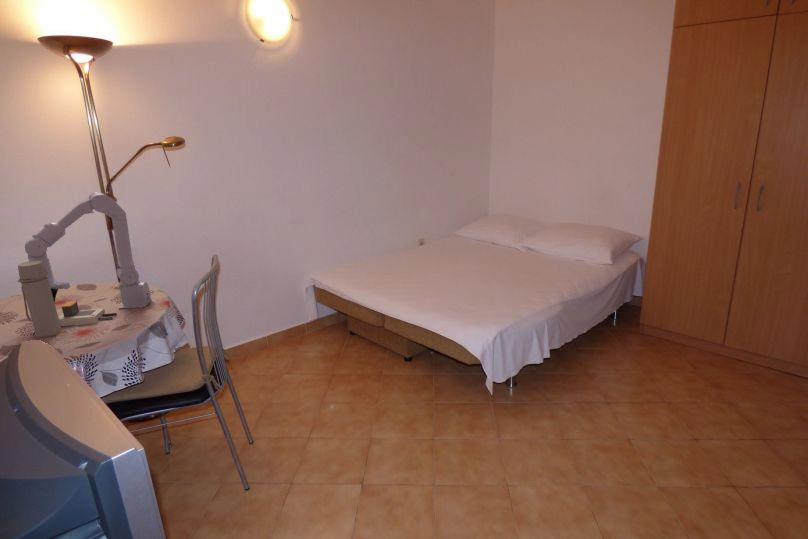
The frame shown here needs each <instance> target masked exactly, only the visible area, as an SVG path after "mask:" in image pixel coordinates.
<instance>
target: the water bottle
mask: <svg viewBox="0 0 808 539" xmlns="http://www.w3.org/2000/svg"><path fill="white" fill-rule="evenodd" d="M17 271H18V277H19V279H18V280H17V282H18V283H20V284H21V287H22V289H21V292H22V291H23V292H22V296H23V303H24V309H25V315H26V318H27V319H28V322H31V323H32V326H33V330H34V333H35V335H36V337H38V338H44V339H45V338H49V337H53V336H56V335H58V334H59V333H60V332H61V331H62V326H60V322H59V319H58V317H59V314H58V312H57V308H56V302H55V303H54V299H53V296H52V292H51V288H50V284H49V280H48V277H46V276H47V272H46V270H45V267H44V265H43V262H42V261H29V260H28V261H24V262H22V263H19V264H17Z"/></svg>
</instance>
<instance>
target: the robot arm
mask: <svg viewBox="0 0 808 539" xmlns="http://www.w3.org/2000/svg"><path fill="white" fill-rule="evenodd" d="M94 211H96V212H98V213H101V214H104V215H106V216H108V217H109V218H110V219H111V221H112V227H113V234H114V236H113V237H114V241H115V242H114V243H115V249H116V255H117V269H116V271H115V272H116V276H117V277H118V278H119V280H120V281H119V282H118V289H119V291H120V293H119V294H120V297H121V302H122V305H120V306H119V308H118V309H119V310H124V309H135V308H146V305H147V306H148V305H149V304H150V303H151V302H152V301H153V299H152V297H151V293H150V287H149V284H148V282H146V281H141V280H140V278H139V277H140V275H139V272H138V271H137V270H136V266H135V263H134V260H133V252H132V248H131V239H130V233H129V227H128V219H127V213H126V211H125V210H124V209H123V208H122V207H121V205H120V204H118V203H117V202H116V200H114V199H113V198H112V197H110V196H108V195H107V194H105V193H103V192H99V191H96V192H92V193H91V194H90V195H89V196H88V197H85V198H84V199H82V200H81V201H80V202H79V203H77V204H76V205H75V206H74V207H73V208H71V209H70V210H69V211H68V212H67V213H66V214H65V215H64V216H63V217H62V218H60V219H59V221H56V222H50V223H49V224H48V223H45V224H44V225H43V228H42V229H41V230H40V231H39V232H37V234H32V236H31V237H32V238H29V239H28V240H26V242H25V243H24V250H25V252H26V254H27V259H28V262H29V261H42V262H43V265H44V267H45V270H46V272H47V276H46V277H48V280H49V284H50V288H51V292H52V296H53V299H54V303H55V304H56V297H57V293H58V291H59V290H61V289H62V290H63V289H64V290H68V289H70V288H71V285H70V282H69V281H66V282H65V281H64V282H61V281H55V278H54V274H53V270H52V267H51V262H50V258H49V257H48V255H47V251H48V248H51V247H52V246H53V245H54V244H56V243H57V242H58V241H59V240H60V239H62V238H63V237H64V236H65V235H66V229H67V228H68V227H70V226H71V225H72V224H74V223H75V222H76V221H77V220H79V219H80V218H81V217H83V216H84V215H88V214H94V213H95V212H94ZM20 288H21V292H22V293H23V291H22V286H20Z"/></svg>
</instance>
